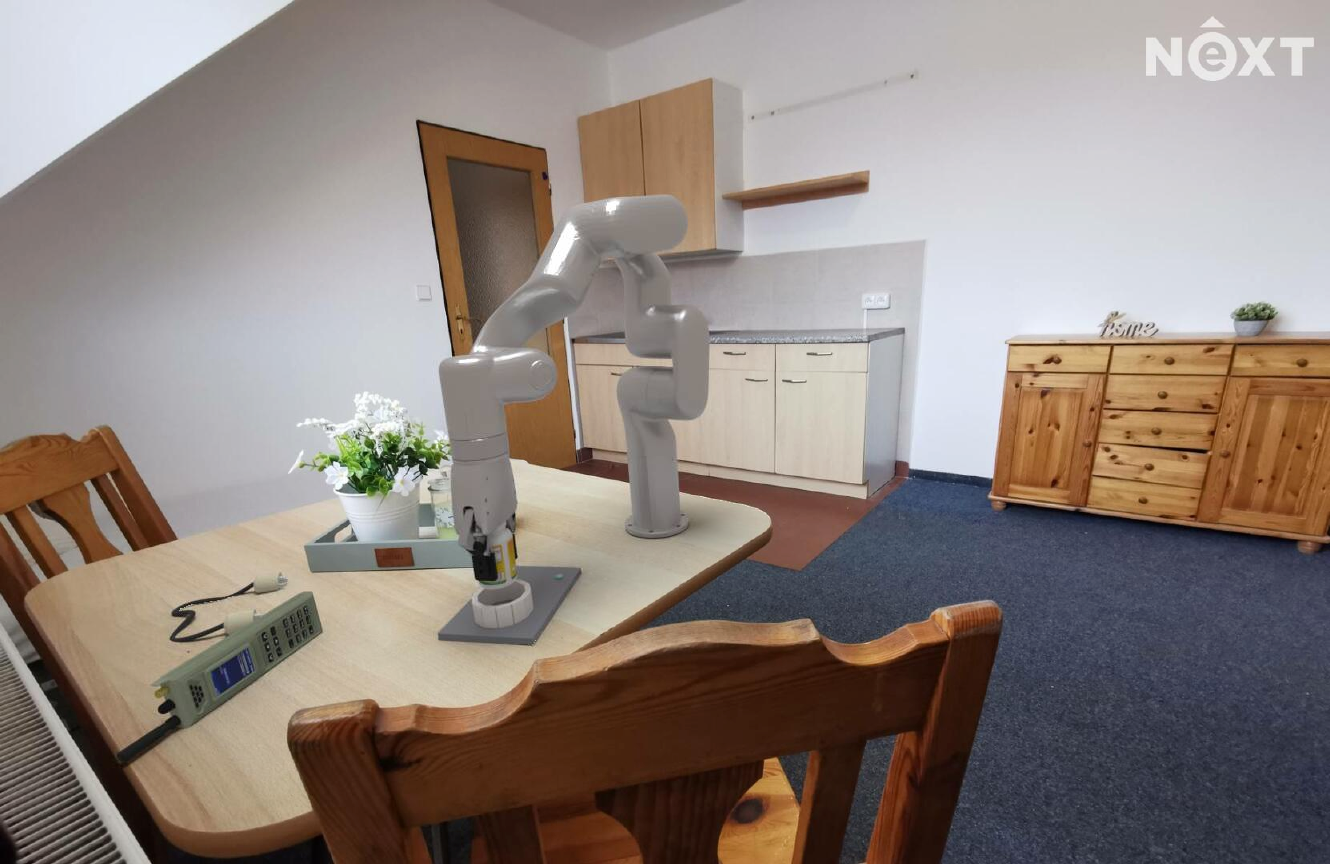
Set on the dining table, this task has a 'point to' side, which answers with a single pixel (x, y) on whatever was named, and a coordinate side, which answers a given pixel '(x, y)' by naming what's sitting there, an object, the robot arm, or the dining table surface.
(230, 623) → the cable
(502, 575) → the supplement bottle
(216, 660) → the handheld radio
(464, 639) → the charging dock
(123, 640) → the dining table surface
